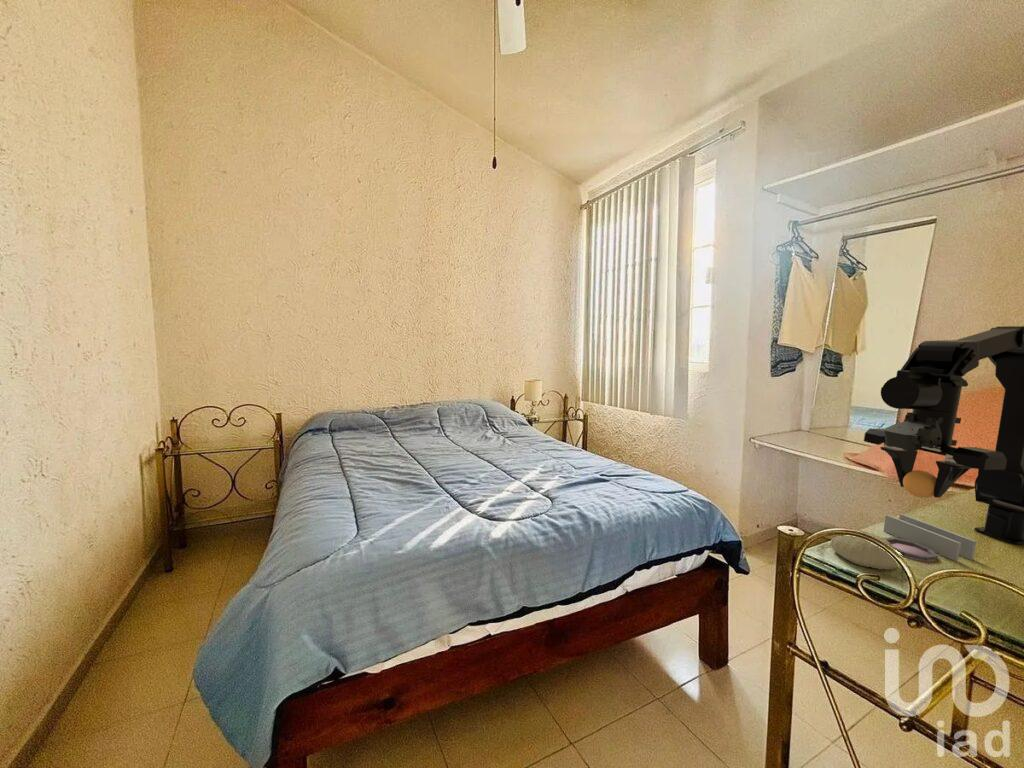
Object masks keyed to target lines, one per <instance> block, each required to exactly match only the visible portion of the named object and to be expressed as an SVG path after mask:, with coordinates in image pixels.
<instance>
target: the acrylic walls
mask: <svg viewBox="0 0 1024 768" xmlns="http://www.w3.org/2000/svg"><path fill="white" fill-rule="evenodd" d="M883 532H884V533H887V534H890V535H892V536H893V537H895V538H899V539H904V540H908V541H913V542H916V543H918V544H920V545H923V546H925V547H928V548H930V549H931V550H933V551H934V552H935V553H936V555H940V556H942V557H944V558H947V559H949V560H951V561H954V562H958V561H959V557H960V556H961V557H964V558H966V559H969V560H973V561H974V560H975V559H974V558H975V553H976V548H977V542H978V541H977V540H973V539H971V538H968V537H966V536H963V535H961V534H958V533H955V532H953V531H949V530H947V529H944V528H941V527H939V526H936V525H935V524H931V523H928V522H925V521H923V520H920V519H917V518H915V517H913V516H909V515H907V514H904V513H900V514H899V518H897V517H894V516H892V515H889V514H885V518H884V524H883Z"/></svg>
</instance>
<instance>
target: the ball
mask: <svg viewBox="0 0 1024 768" xmlns="http://www.w3.org/2000/svg"><path fill="white" fill-rule="evenodd" d="M936 479H937V476H935V474H933V473H931V472H929V471H925V470H917V469H916V470H912V472H909V473H908V474H906V475H905V477H904V478H903V485H904V487H903V488H904V489H905V491H906V492H908V493H909V494H910V495H912V496H913V497H916V498H917V497H918V498H922V499H928V498H932V497H934V488H935V484H936Z"/></svg>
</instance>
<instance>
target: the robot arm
mask: <svg viewBox="0 0 1024 768" xmlns="http://www.w3.org/2000/svg"><path fill="white" fill-rule="evenodd" d="M987 358H988V359H989V360H990V362H991V363H992V364H993V365H994V366H995V371H994V373H995V374H994V376H995V377H996V379H997V380H998V381H999V383H1000V384H1001V386H1002V387H1003V388H1004V394H1003V399H1002V400H1003V401H1002V406H1001V411H1000V412H1001V414H1000V418H999V424H998V430H997V431H998V432H997V436H996V437H997V438H996V445H995V448H994V450H992V449H987V448H983V447H982V448H981V447H977V446H975V447H974V446H958V447H956V446H957V443H958V440H957V439H953V436H954V432H955V431H954V430H955V426H956V424H961V423H962V422H961V421H962V417H958V416H957V415H958V409H959V404H960V398H961V393H962V387H963V388H964V387H965V388H966V387H968V386H969V383H968V381H967V380H966V379H964V378H963V377H964V376H965V375H966V374H968V373H969V372H971V371H973V370H974V369H976V368H978V367H979V366H980V365H979V364H980V362H979V361H981V360H983V359H987ZM880 396H881V399H882V401H883V402H884V404H886V405H887V406H889V408H893V409H898V410H911V412H910V411H909V412H906V414H905V415H904V420H903V421H901V422H897V423H894V424H892V425H890V426H887V427H885V428H872V427H870V428H868V429H867V430H866V432H865V433H864V436H863V442H864V443H869V444H873V445H877V446H879V445H882V444H883V446H880V448H879V449H880V450H881V451H885V453H887V454H888V456H890V458H891V460H892V462H893V464H894V468H895V470H896V471H895V473H896V475H897V479H898V483H899V485H900V487H902V488H904V485H903V478H904V477H905V475H906V474H908V473H909V472H912V471H914V470H913V469H914V466H915V463H916V459H917V455H918V451H922V452H927V453H931V454H935V455H939V456H944V460H935V464H936V466H937V469H938V471H937V476H936V478H937V479H936V484H935V488H934V496H933V497H934V498H941V497H942V496H943V495H944V494H945V493H946V492H947V491H948V490H949V489H950V488H951V487H952V486H953V485H954V484H955V483H956V481H958V480H959V479H960V478H961V477H962V476H963V475H964V474H965V473H967V472H968V471H969V470H971V469H975V470H976V469H977V476H976V478H975V480H974V493H975V495H974V496H975V501H976V502H977V503H984V504H986V505H987V511H986V515H985V521H984V526H980V527H979V526H978V527H974V531H975V532H979V533H981V534H984V535H987V536H990V537H993V538H996V539H997V540H998V539H999V540H1002V541H1004V542H1007V543H1010V544H1013V545H1020V544H1021V545H1022V544H1024V325H1019V326H1018V325H1015V326H1011V325H1010V326H1009V325H1008V326H995V327H992V328H990V329H988V330H986V331H982V332H979V333H975V334H972V335H970V336H969V335H968V336H965V337H962V338H959V339H956V340H955V339H954V340H948V339H947V340H945V339H944V340H943V339H941V340H937V339H936V340H924V341H922V342H921V343H919V344H918V345H917V347H916V348H915V349H914V350H913V352H912V353H911V355H910V356H909V357H908V359H907V360H906V362H905V363H903V366H902V367H901V368H900V369H899V370H897V372H896V376H894V377H892V378H889V379H888V380H887V381H886V382H885V383H883V385H882V386H881V389H880Z"/></svg>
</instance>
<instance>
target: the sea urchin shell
mask: <svg viewBox="0 0 1024 768" xmlns="http://www.w3.org/2000/svg"><path fill="white" fill-rule="evenodd" d="M848 530H857V531H860V532H862V533H864V534H868V535H871V536H873V537H875V538H877V539H879V540H881V541H883V542H884V543H886V544H887V545H889V546H890V547H892V548H893V549H895V548H894V547H893V545H892V544H890V542H888V541H887V540H886V539H884V538H885V537H881V536H879V535H876V534H874V533H871V532H868V531H865V530H862V529H861V530H860V529H857V528H855V529H854V528H852V529H851V528H849V529H848ZM832 537H833V536H832ZM832 537H831V539H830V540H831V541H830V544H831V548H832V549H833V551H835V552H836V553H837V554H838V555H839V556H841V557H842V558H844V559H845V560H846V561H849V562H851V563H853V564H854V563H855V565H857V564H858V565H857V566H860V565H861V566H860V567H865V566H866V567H865V568H868V567H872V569H876V568H878V569H877V570H883V569H888V570H887V571H889V569H891V570H893V569H895V568H897V566H898V564H897V563H896V561H895V560H894V559H893V558H892V557H891V556H890V555H889V554H888V553H887V552H886V551H884V550H883V549H881V548H879V547H878V546H875V545H873V544H871V543H870V542H868V541H866V540H864V539H862V538H859V537H853V536H836V537H833V538H832ZM895 550H896V549H895Z"/></svg>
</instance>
